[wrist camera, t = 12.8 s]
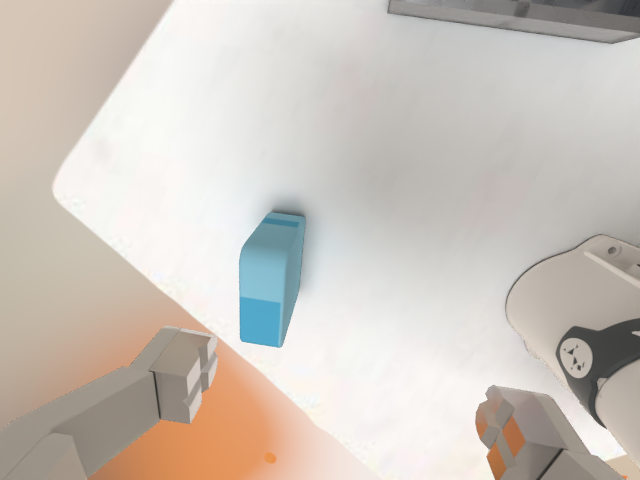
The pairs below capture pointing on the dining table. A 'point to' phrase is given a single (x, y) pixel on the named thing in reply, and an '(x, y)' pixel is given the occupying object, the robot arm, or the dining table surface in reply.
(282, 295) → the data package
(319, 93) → the dining table surface
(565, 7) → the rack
